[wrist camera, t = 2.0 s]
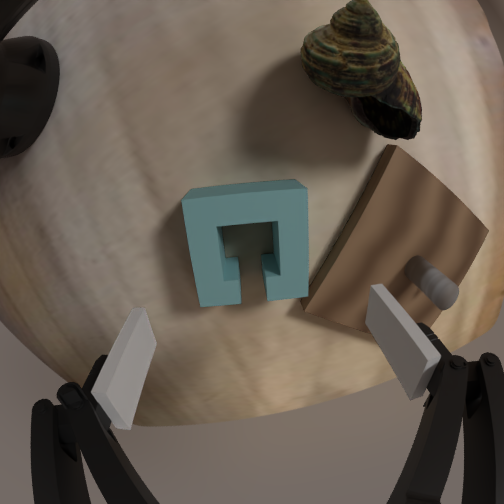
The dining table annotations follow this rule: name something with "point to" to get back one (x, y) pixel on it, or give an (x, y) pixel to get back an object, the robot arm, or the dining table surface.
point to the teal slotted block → (243, 212)
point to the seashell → (364, 70)
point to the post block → (398, 247)
